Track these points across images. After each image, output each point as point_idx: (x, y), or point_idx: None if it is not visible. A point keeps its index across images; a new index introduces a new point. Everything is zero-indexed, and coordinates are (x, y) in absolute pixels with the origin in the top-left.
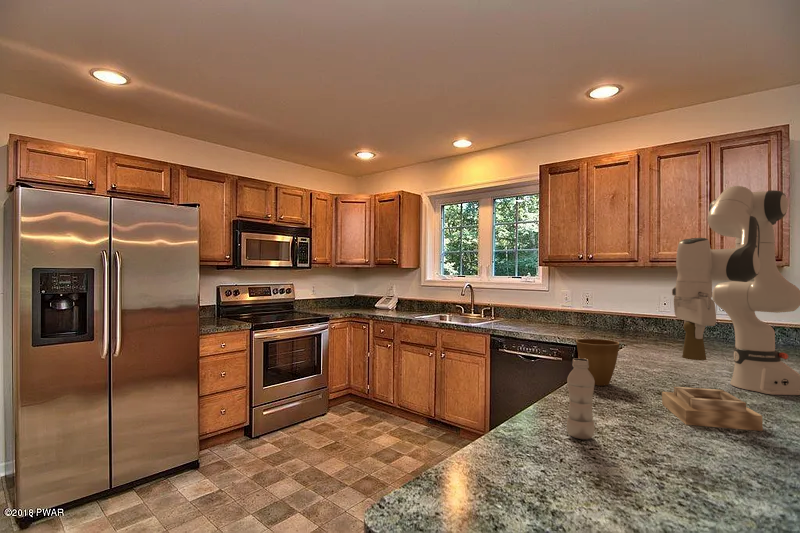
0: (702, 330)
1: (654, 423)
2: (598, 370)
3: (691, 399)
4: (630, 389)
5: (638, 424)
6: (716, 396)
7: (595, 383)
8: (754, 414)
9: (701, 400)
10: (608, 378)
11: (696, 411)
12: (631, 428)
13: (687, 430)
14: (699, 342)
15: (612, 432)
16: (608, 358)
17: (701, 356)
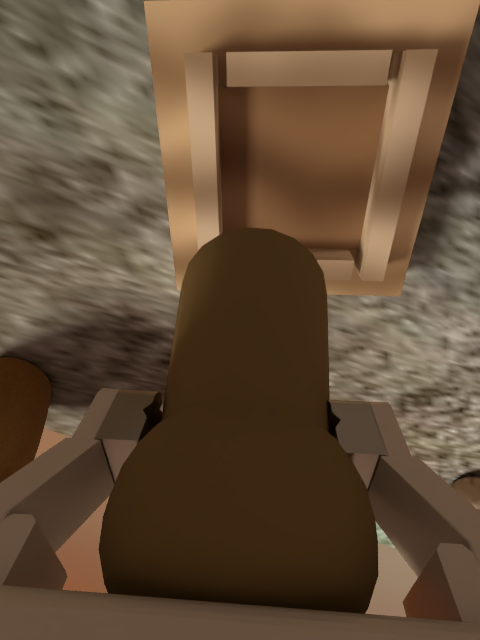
0: (452, 506)
1: (380, 347)
2: (40, 429)
3: (376, 279)
4: (40, 311)
5: (389, 382)
6: (218, 100)
7: (50, 396)
8: (457, 27)
9: (389, 249)
10: (28, 381)
11: (407, 265)
12: (418, 401)
13: (434, 288)
14: (328, 372)
15: (442, 437)
16: (5, 447)
17: (324, 294)
